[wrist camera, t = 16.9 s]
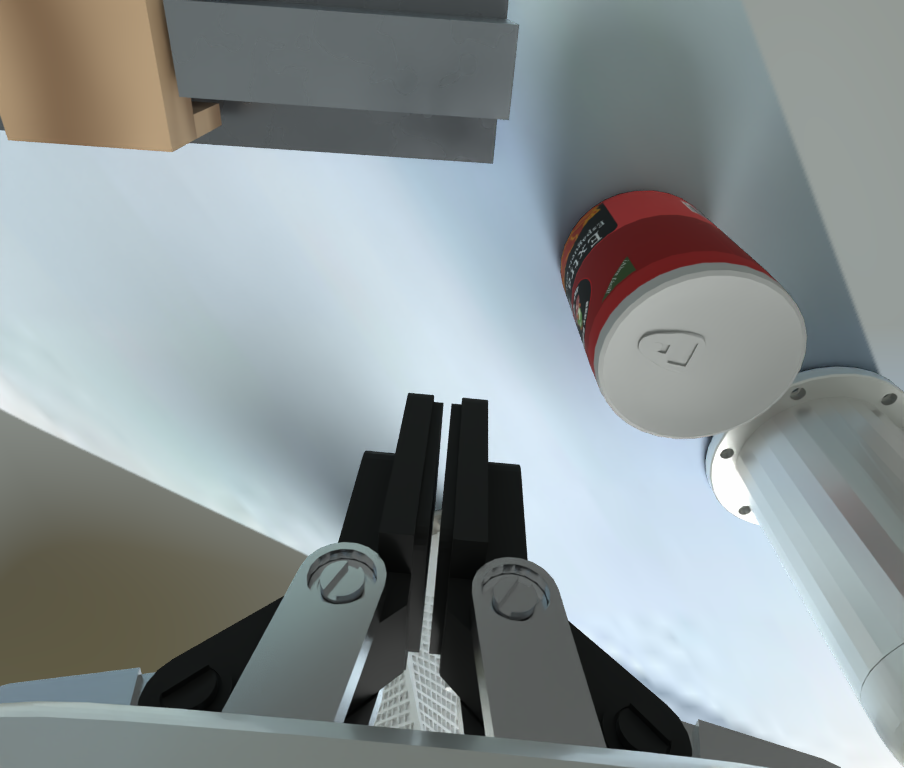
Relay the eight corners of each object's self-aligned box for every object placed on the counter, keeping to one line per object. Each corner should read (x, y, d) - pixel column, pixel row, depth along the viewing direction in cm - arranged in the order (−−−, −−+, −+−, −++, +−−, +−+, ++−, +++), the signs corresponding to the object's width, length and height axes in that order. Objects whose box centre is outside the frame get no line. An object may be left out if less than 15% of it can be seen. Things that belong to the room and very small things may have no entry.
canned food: (563, 185, 30) (609, 269, 21) (723, 184, 30) (840, 267, 21) (552, 321, 34) (585, 441, 25) (692, 320, 34) (778, 441, 25)
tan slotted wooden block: (198, -51, 23) (134, -62, 19) (221, 124, 27) (172, 151, 22) (42, -64, 23) (-62, -78, 19) (86, 114, 27) (8, 140, 22)
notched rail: (513, -68, 25) (530, -87, 19) (492, 160, 29) (500, 201, 24) (-70, -113, 24) (-241, -147, 18) (7, 127, 29) (-108, 161, 23)
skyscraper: (493, 580, 47) (528, 1174, 23) (397, 601, 48) (337, 1178, 25) (458, 505, 42) (456, 1143, 19) (353, 531, 44) (231, 1150, 20)
